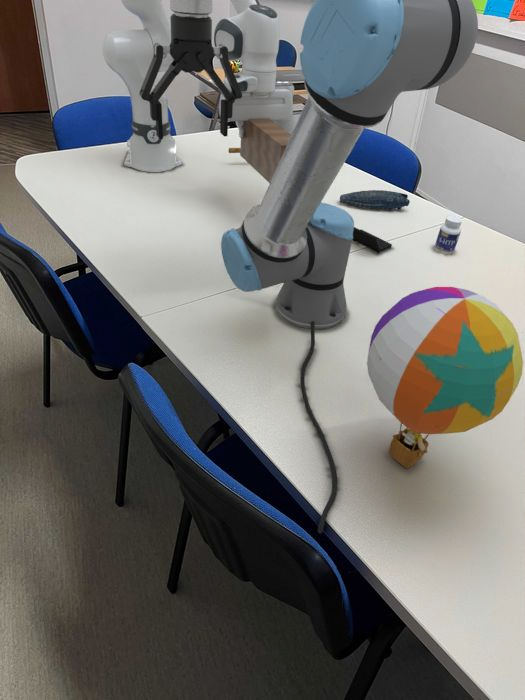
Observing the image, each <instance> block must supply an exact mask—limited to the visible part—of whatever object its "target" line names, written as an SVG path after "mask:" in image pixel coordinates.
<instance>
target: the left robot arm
mask: <svg viewBox="0 0 525 700" xmlns="http://www.w3.org/2000/svg"><path fill="white" fill-rule="evenodd" d="M230 2H231V3H232V5H233V7H234V10H235V11H236V13H237V14H236V15H232V16H229V17H225V18H222V19H220V20H219V21H218V23H216V25H215V28H214V32H213V45H214V47H217V46H219V45H220V44H222V45H224V46H226V47H227V48H228V57H229V62H236V61H240V62H241V63H242V65H241V70H239V72H236V73H234V75H235V77H236V80H237V82H238V85H239V87H240V90H241V93H242V98H240V99H236V100H235V102H234V103H233V110H232V111H233V112H232V118H228V123H229V122H235V125H236V127H237V129H238V137H239V138H240V139H241V138H246V131H245V130H243V129H242V125H243V121H248V119H270V120H272V121H273V122H275V123H276V124H277V120H290V119H291V118H292V117H293V114H294V94H295V86H294V84H293V83H292V82H291V81H290V80H285V81H282V80H277V71H278V66H277V57H278V54H279V49H280V48H279V47H280V18H279V15H278V13H277V11H275V9H273V8H271V7H269V6H267V5H262V4H261V3H260V2H259V0H230ZM121 3H122V5H123V7H124V8H125V9H126V10H127V11H129V12H130V13H131V14H134V15H135V16H136V17H138V18H139V20H140V22H141V23H142V27H143V29H119V30H116V31H115V30H114V31H112V32H109V33H107V34H106V35H105V37H104V39H103V42H102V56H103V59H104V62H105V63H106V65H107V66H108V67H109V68H110V69H111V70H112V71H113V72H115V73H116V74H117V75H118V76H119V78H121V79H122V81H123V82H124V84H125V86H126V88H127V90H128V93H129V98H130V104H131V111H132V113H131V114H132V120H131V131H132V135H131V136H130V138H129V139H127V140H126V145H127V148H128V152H127V154H126V157H125V160H124V162H123V163H124V164H123V166H125V167H129V168H133V169H135V170H138V171H141V172H147V173H148V172H149V173H160V172H167V171H171V170H172V169H174V168H176V167H179V166H182V164H183V163H182V160H181V159H180V158H179V157H178V156H177V145H176V138H174V137H173V136H172V135H171V122H170V120H169V106H168V105H169V101H168V95H167V94H166V93H167V92H166V91H165V92H164V93H163V95H162V96H161V98H160V99H159V100H158V101H159V102H160V103H161V104H162V126H163V139H159V138H158V136H157V135H156V121H153V120H152V119H151V116H150V103H149V101H146V100H143V99H142V98H141V96H140V95H139V92H140V90H141V87H142V84H143V82H144V79H145V77H146V74H147V72H148V69H149V67H150V64H151V61H152V59H153V56H154V45H155V43H159V44H160V45H164V46H170V43H171V22H170V18H169V17H168V15H167V13H166V10H165V7H164V4H163V0H121ZM173 60H174V59H173V58H172V56H171V55H170V53H168V54H167V55H166V58H164V59H163V60H162V64H161V67H160V69H159V72H158V73H162V72H164V73H165V72H166V71H167V70H168V68H169V66H170V64H171V63H172V61H173ZM222 82H223V83H224V85H225V86H226V88H227V89H228V90H229V92H232V90H231V87H230V85H229V83H228V80H227V78H226V76H225V77H224V78H223V81H222ZM156 85H157V84H155V83H154V84H153V87H152V89H151V92H152V91H153V89H154V88H155V86H156ZM151 92H150V93H151ZM221 100H225V97H224V96H223V95H222V93H221V92H220V97H219V103H218V104H219V105H218V106H219V107H218V115H219V117H220V116H221Z"/></svg>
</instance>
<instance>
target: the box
mask: <svg viewBox="0 0 525 700" xmlns="http://www.w3.org/2000/svg"><path fill="white" fill-rule="evenodd" d="M241 126H242V129H243V130H245V131H246V138H240V147H239V148H240V153H239V156H240V157H241V158H242V159H243V160H244V161H245V162H246V163H248V165H249V166H251V167H252V168H253V169H254V170H255V171H256V172H257V173H258V174H259V175H260V176H261V177H262V178H263V179H264V180H265V181H267V182H268V183H269V184H270V182H271V180H272V178H273V175H274V173H275V171H276V169H277V166H278V164H279V162H280V160H281V157H282V155H283V153H284V151H285V148H286V146H287V144H288V142H289V139H290V137H291V134H292V133H290V132H289V131H287V130H286V129H284V128H283V127H281V126H280V125H279V124H277V122H276V123H275V122H273V121H272V120H270V119H248V121H243V125H241Z"/></svg>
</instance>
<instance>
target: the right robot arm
mask: <svg viewBox="0 0 525 700" xmlns="http://www.w3.org/2000/svg"><path fill="white" fill-rule="evenodd" d="M311 2H313V4H312V6H311V8H310V9H309V11H308V13H307V16H306V18H305V21H304V24H303V27H302V30H301V36H300V45H302V46H303V48H302V51H301V52H300V53H299V61H300V62H299V63H300V68H301V72H302V75H303V78H304V79H303V84H304V85H303V86H304V90H305V91H306V93H307V96H308V97H307V99H306V101H305V104H304V105H303V108H302V110H301V113H300V115H299V116H298V119H297V122H296V124H295V126H294V128H293V130H292V132H291V134H292V135H291V137H290V139H289V142H288V144H287V146H286V148H285V151H284V153H283V155H282V157H281V160H280V162H279V164H278V166H277V169H276V171H275V173H274V175H273V178H272V180H271V182H270V183H269V185H268V186H267V189H266V191H265V192H264V195H263V197H262V199H261V202H260V204H257V205H255V206H253V207H252V208H250V209H249V210H248V211H247V213H246V214H245V216H244V218H243V221H242V223H241V225H240V227H238V228H234V227H233V228H230V229H229V230H226V231H225V232H223V234H222V236H221V240H220V250H221V251H220V252H221V256H222V257H221V258H222V260H223V264H224V268H225V270H226V272H227V275H228V277H229V278H230V280H231V282H232V284H233V285H234V286H235V287H236V288H237V289H238V290H241V291H242V292H244V293H250V292H254V291H262V290H264V289H267V288H270V287H274V286H277V285H281V284H282V285H281V287H280V290H279V291H278V294H277V296H276V301H275V311H276V313H277V315H278V316H279V317H280V318H281V319H282V320H283V321H284V322H286V323H287V324H289V325H291V326H293V327H296V328H300V329H304V330H310V347H309V351H308V353H307V355H306V357H305V360H304V361H303V363H302V366H301V368H300V369H301V370H300V377H299V378H300V381H299V383H300V384H299V385H300V391H301V397H302V400H303V403H304V407H305V410H306V412H307V415H308V417H309V419H310V421H311V423H312V425H313V426H314V428H315V430H316V432H317V434H318V437H319V439H320V441H321V444H322V446H323V449H324V453H325V455H326V458H327V461H328V464H329V467H330V472H331V478H332V479H331V480H332V481H331V482H332V483H331V485H332V486H331V487H332V488H331V493H330V496H329V499H328V500H327V502H326V505H325V506H324V508H323V510H322V513H321V516H320V518H319V521H318V526H317V533H318V534H319V535H320V534H323V532H324V529H325V525H326V524H325V523H326V521H327V518H328V515H329V512H331V511H330V510H331V508H332V507H333V505H334V503H335V501H336V498H337V494H338V473H337V468H336V464H335V460H334V458H333V455H332V452H331V449H330V447H329V443H328V441H327V438H326V436H325V434H324V432H323V430H322V428H321V426H320V424H319V423H318V421H317V419H316V417H315V415H314V413H313V410H312V409H311V406H310V405H311V404H310V403H309V399H308V396H307V395H308V394H307V391H306V383H305V381H306V380H305V379H306V369H307V366H308V364H309V362H310V360H311V358H312V356H313V354H314V350H315V347H316V335H315V334H316V333H315V331H324V330H325V331H326V330H329V329H333V328H336V327H337V326H339V325H340V324H342V323H343V322H344V320H345V318H346V315H347V308H348V307H347V306H348V305H347V297H346V292H345V286H344V280H345V275H346V271H347V267H348V262H349V257H350V253H351V247H352V244H353V243H352V242H353V229H354V227H355V220H354V218H353V216H352V215H351V214H350V213H349V212H348V211H346V210H345V209H343V208H340V207H339V206H336V205H333V204H330V203H326V202H322V201H323V200H324V198H325V196H326V195H327V193H328V192H329V190H330V188H331V186H332V184H333V183H334V181H335V180H336V178H337V176H338V174H339V173H340V171H341V169H342V168H343V166H344V164H345V162H346V161H347V159H348V157H349V156H350V154H351V152H352V151H353V149H354V147H355V145H357V144H356V143H357V142H358V141H359V139H360V137H361V135H362V134H363V132H364V130H365V129H367V128H372V127H376V126H377V125H379V124H380V123H381V122H383V120H384V119H385V118H386V116H387V114H388V112H389V111H390V109H391V107H392V106H393V104H394V103H395V102H396V99H397V98H398V96H399V95H400V94H402V93H403V92H415V91H423V90H431V89H433V88H436V87H437V88H438V87H439V86H441V85H444V84H445V83H447V82H448V81H449V80H451V79H452V78H454V77H455V76H456V75H457V74H458V73H459V72H460V71H461V70H462V69H463V68H464V66H465V65H466V63H467V62H468V60H469V59H470V57H471V55H472V52H473V50H474V49H475V45H476V41H477V38H478V31H479V20H478V15H477V9H476V7H475V4H474V2H473V0H311ZM169 9H170V11H171V12H173V13H172V14H171V15H170V17H169V20H170V22H171V43H170V46H164V45H160V44H159V43H155V45H154V56H153V59H152V61H151V64H150V67H149V69H148V72H147V74H146V77H145V79H144V82H143V84H142V87H141V90H140V92H139V95H140V96H141V98H142V99H143V100H146V101H149V103H150V116H151V119H152V120H153V121H156V135H157V136H158V138H159V139H163V126H162V104H161V103H160V102H159V101H158V100H159V99H160V98H161V96H162V95H163V93H164V92H165V93H166V91H167V89H168V88H169V87H170V85H171V84H172V83H173V81H174V80H175V78H176V77H177V76H178V75H179V74H180V73H181V72H184V73H193V72H194V73H197V74H199V73H202V72H203V71H204V72H205V73H206V74H207V75H208V77H209V79H210V80H211V81H212V82H213V84H214V85H215V87H216V88H217V89H218V91H219V92H220V94H221V93H222V95H223V96H224V97H225V100H221V116H220V115H219V117H220V118H219V120H220V125H219V133H220V134H221V135H222V136H223V137H228V136H229V135H228V133H229V132H228V131H229V122H228V118H232V112H233V111H232V110H233V103H234V102H235V100H236V99H240V98H242V93H241V90H240V87H239V85H238V82H237V80H236V77H235V75H234V74H235V73H234V70H233V67H232V64H231V61H229V57H228V48H227V47H226V46H224V45H222V44H220V45H219V46H217V47H215V46H213V43H212V42H213V41H212V40H213V39H212V38H213V19H212V18H211V16H210V15H211V14H212V13H213V0H169ZM168 53H170V55H171V56H172V58H173V59H174V60H173V61H172V63H171V64H170V66H169V68H168V70H167V71H165V72H164V74H163V75H162V77H161V78H160V79H159V80H158V82H157V83H156V84H155V82H156V79H157V76H158V75H159V73H160V72H159V69H160V67H161V64H162V60H163V59H164V58H166V55H167V54H168ZM214 55H215V57H216V58H217V59H218V60H219V63H220V65H221V67H222V70H223V73H224V75H225V77H226V78H227V80H228V83H229V85H230V87H231V90H232V92H229V90H228V89H227V88H226V86H225V85H224V83H223V81H222V79H221V78H220V76H219V75H218V74H217V72H216V71H215V69H214V68H213V66H212V65H211V63H210V61H211V60H212V58H213V56H214ZM153 84H154V85H156V86H155V88H154V89H153V91H152V92H151V89H152V87H153ZM150 92H151V93H150Z"/></svg>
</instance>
